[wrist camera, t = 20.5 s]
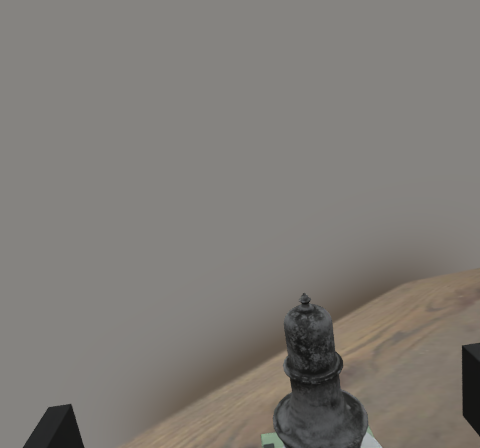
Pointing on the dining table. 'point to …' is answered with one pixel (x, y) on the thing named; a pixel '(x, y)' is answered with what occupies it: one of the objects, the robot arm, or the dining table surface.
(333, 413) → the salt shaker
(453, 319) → the dining table surface
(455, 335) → the dining table surface
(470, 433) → the dining table surface
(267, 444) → the scale
